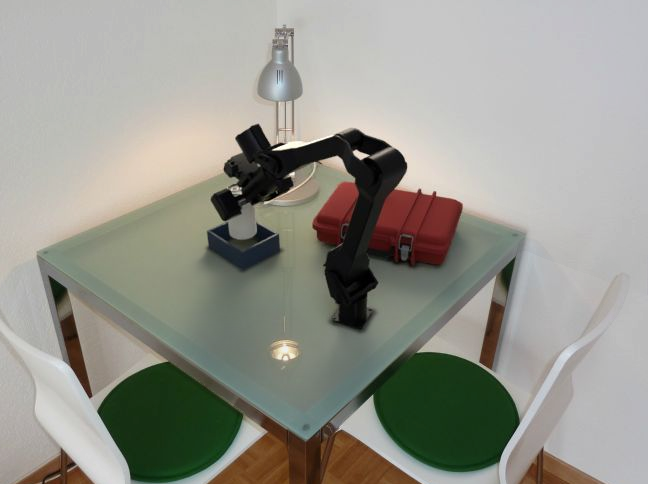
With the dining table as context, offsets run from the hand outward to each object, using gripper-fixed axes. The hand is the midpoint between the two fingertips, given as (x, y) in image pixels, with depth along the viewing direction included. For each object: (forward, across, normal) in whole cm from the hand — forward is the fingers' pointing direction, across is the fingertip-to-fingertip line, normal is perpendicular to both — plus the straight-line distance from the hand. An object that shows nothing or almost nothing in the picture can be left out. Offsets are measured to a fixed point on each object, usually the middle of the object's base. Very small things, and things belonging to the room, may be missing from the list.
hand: (237, 207), depth 145 cm
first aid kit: (-7, -29, +23) cm, 38 cm away
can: (+4, 0, +6) cm, 7 cm away
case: (+7, 0, +9) cm, 11 cm away
